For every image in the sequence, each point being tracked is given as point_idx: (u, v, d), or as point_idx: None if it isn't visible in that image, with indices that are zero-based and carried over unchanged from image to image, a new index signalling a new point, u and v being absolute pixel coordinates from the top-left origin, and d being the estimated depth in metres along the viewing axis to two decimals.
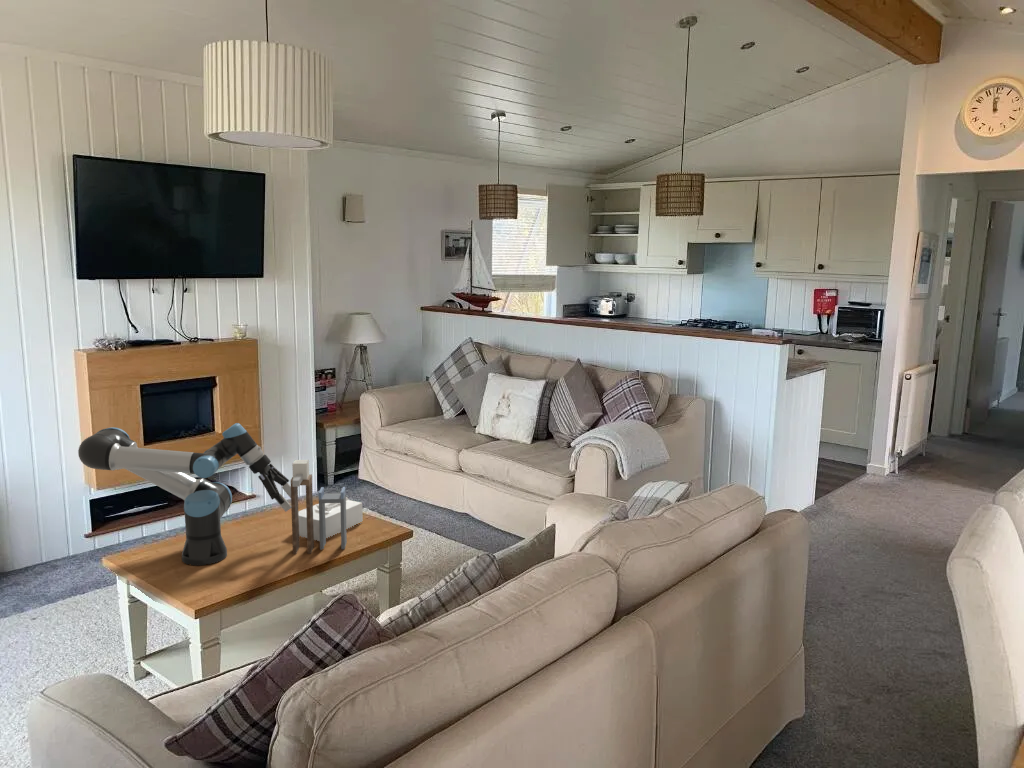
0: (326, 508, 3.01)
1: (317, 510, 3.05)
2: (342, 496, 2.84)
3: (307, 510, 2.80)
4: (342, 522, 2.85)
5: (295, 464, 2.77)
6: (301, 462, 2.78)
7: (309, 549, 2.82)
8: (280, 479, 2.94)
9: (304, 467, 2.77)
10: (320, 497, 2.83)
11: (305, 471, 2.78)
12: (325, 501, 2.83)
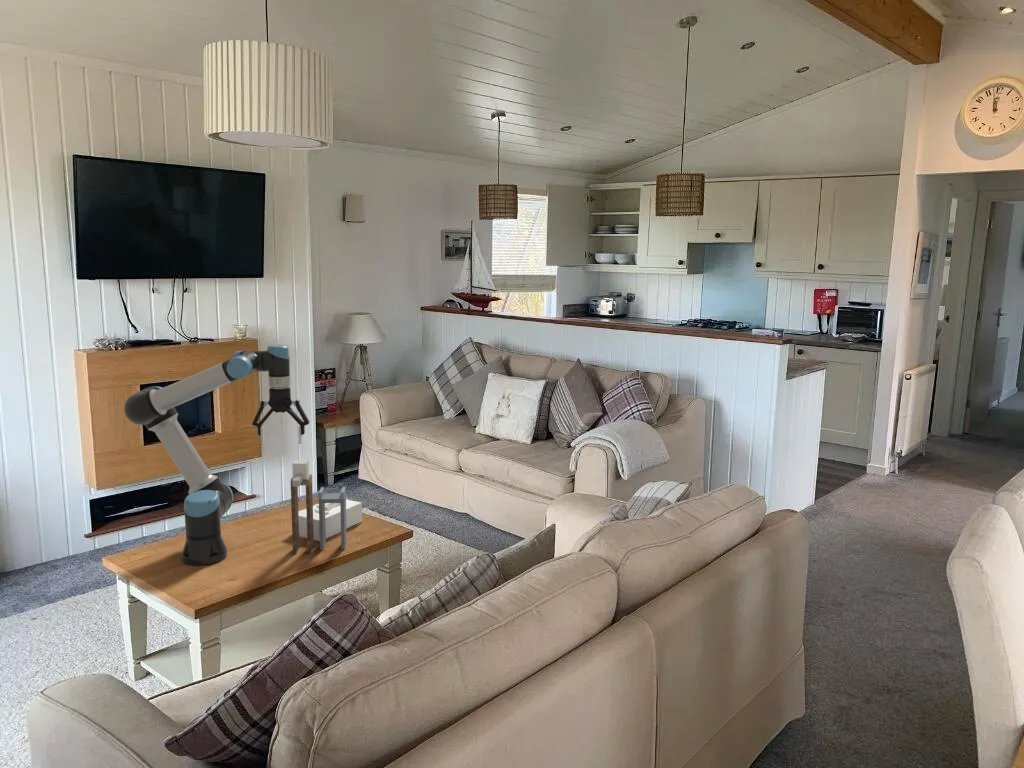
0: (326, 508, 3.01)
1: (317, 510, 3.05)
2: (342, 496, 2.84)
3: (307, 510, 2.80)
4: (342, 522, 2.85)
5: (295, 464, 2.77)
6: (301, 462, 2.78)
7: (309, 549, 2.82)
8: None
9: (304, 467, 2.77)
10: (320, 497, 2.83)
11: (305, 471, 2.78)
12: (325, 501, 2.83)
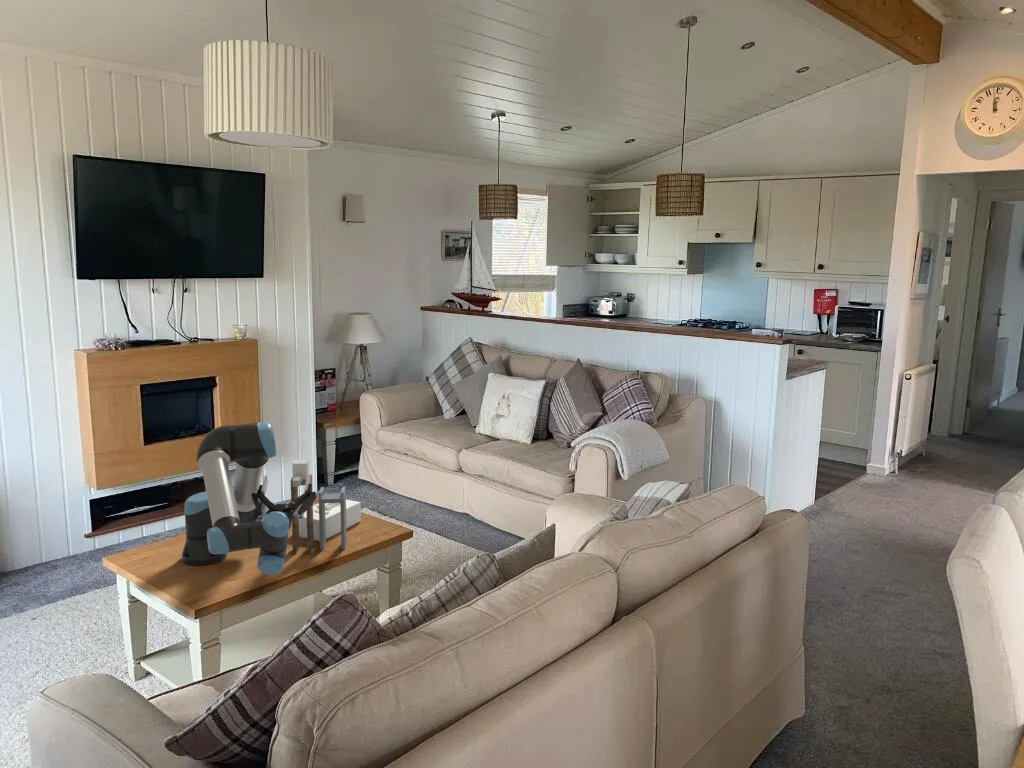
0: (326, 508, 3.01)
1: (317, 510, 3.04)
2: (342, 496, 2.84)
3: (307, 510, 2.80)
4: (342, 522, 2.85)
5: (295, 464, 2.77)
6: (301, 462, 2.78)
7: (309, 549, 2.82)
8: None
9: (304, 467, 2.77)
10: (320, 497, 2.83)
11: (305, 471, 2.78)
12: (325, 501, 2.83)
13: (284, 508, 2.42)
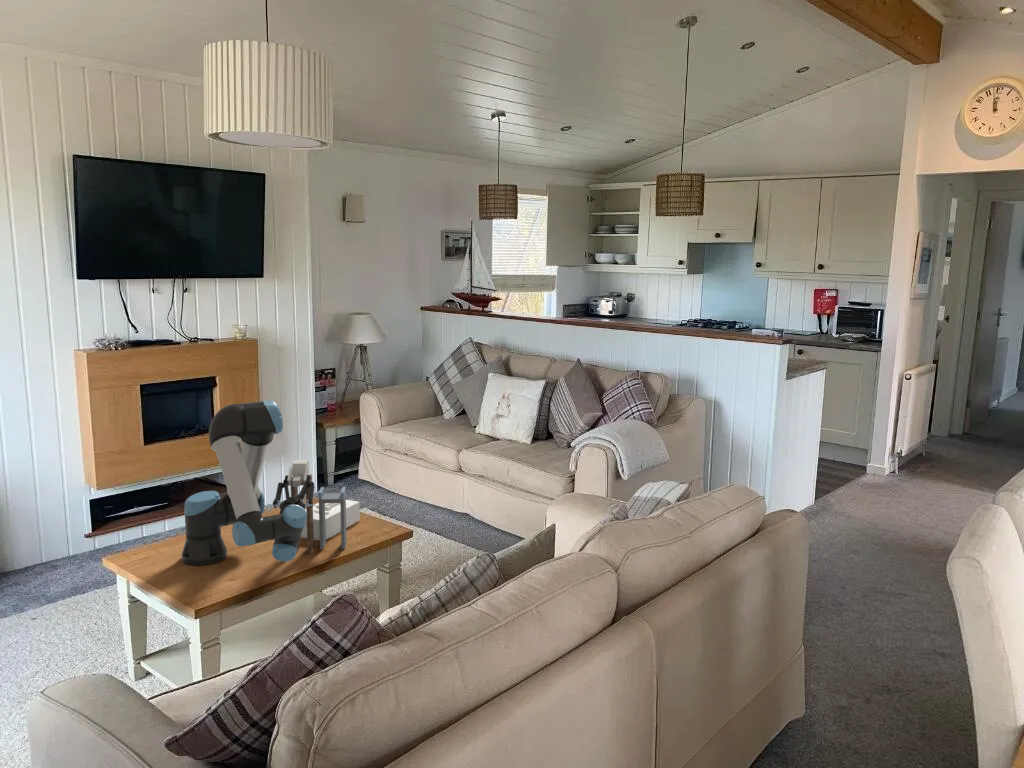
0: (326, 508, 3.02)
1: (316, 510, 3.04)
2: (342, 496, 2.84)
3: (307, 510, 2.80)
4: (342, 522, 2.85)
5: (295, 464, 2.77)
6: (301, 462, 2.78)
7: (309, 549, 2.82)
8: None
9: (304, 467, 2.77)
10: (320, 497, 2.83)
11: None
12: (325, 501, 2.83)
13: (296, 501, 2.63)
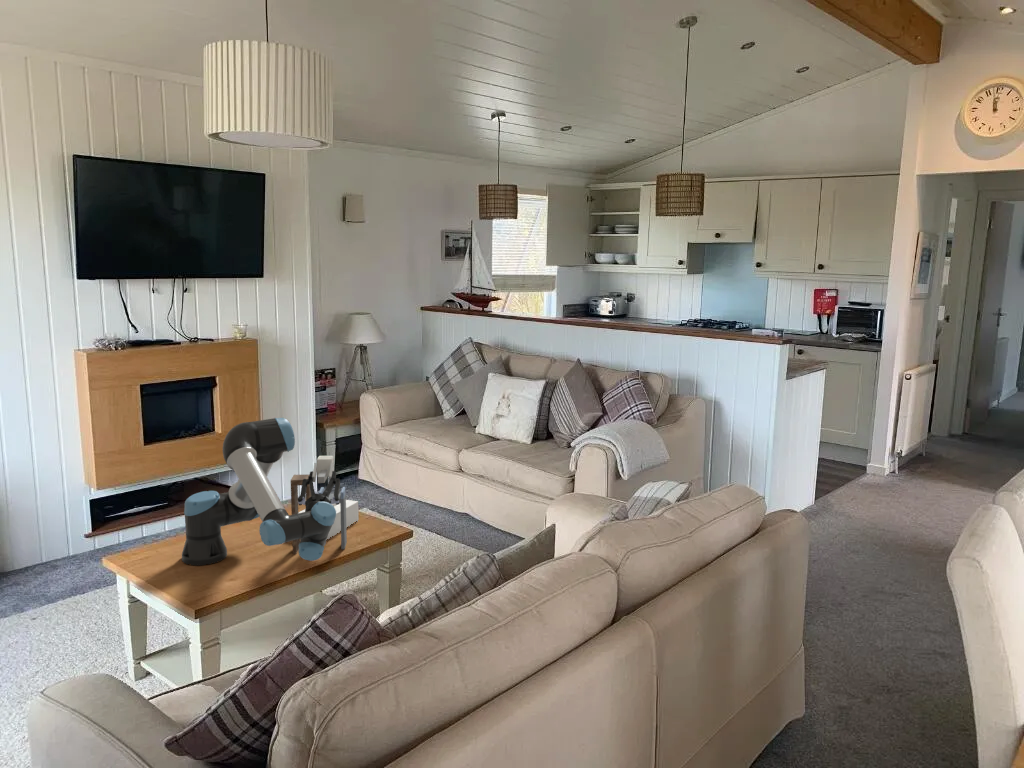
0: None
1: None
2: (342, 496, 2.84)
3: None
4: (342, 522, 2.85)
5: (320, 460, 2.67)
6: (326, 458, 2.69)
7: None
8: None
9: (329, 463, 2.68)
10: None
11: None
12: None
13: (322, 498, 2.53)
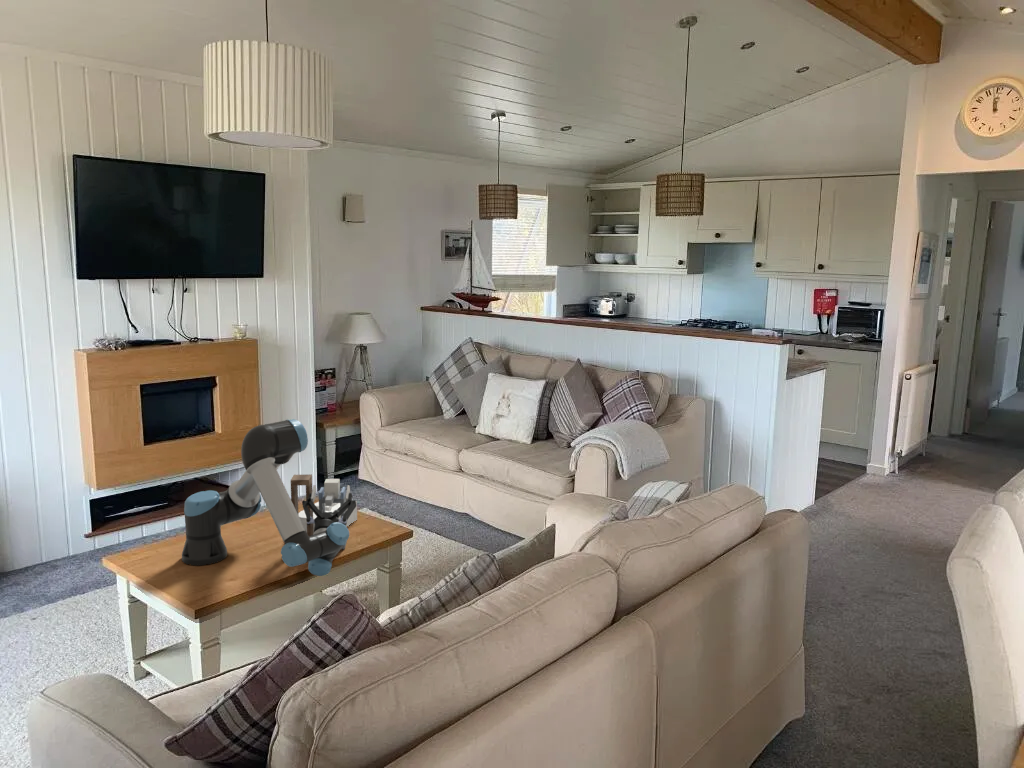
0: (327, 508, 3.02)
1: None
2: (342, 496, 2.84)
3: None
4: None
5: (327, 483, 2.83)
6: (332, 481, 2.85)
7: None
8: None
9: (335, 486, 2.84)
10: (320, 497, 2.83)
11: (336, 490, 2.84)
12: None
13: (330, 516, 2.69)
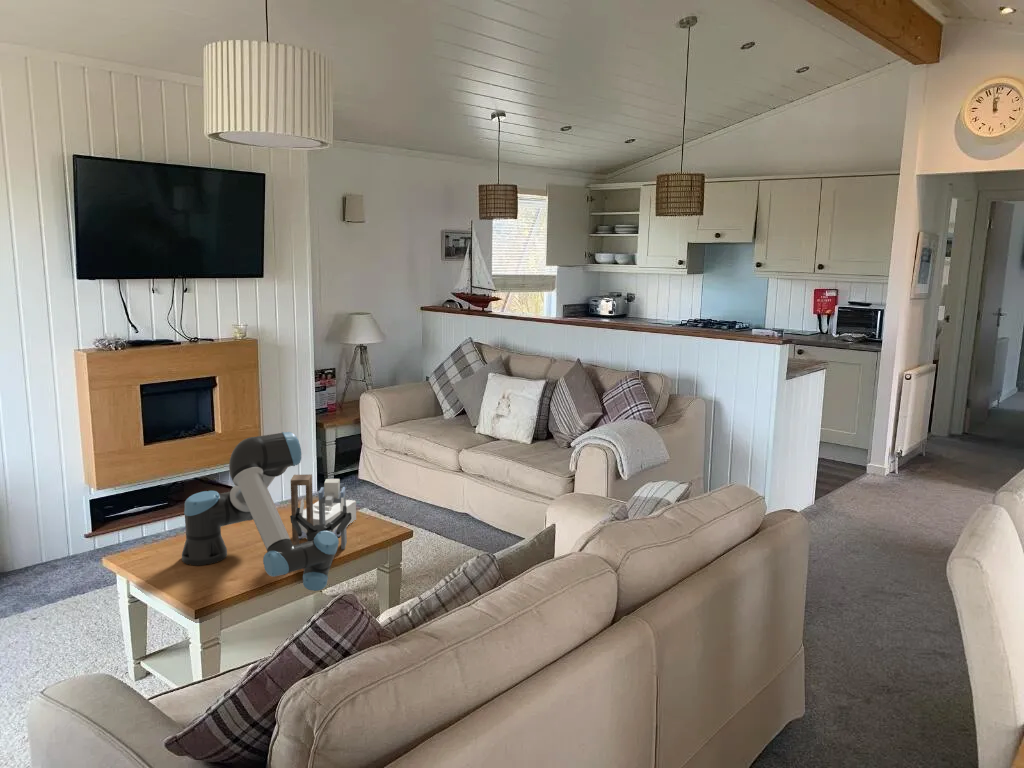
0: (327, 508, 3.02)
1: (316, 511, 3.04)
2: (342, 496, 2.84)
3: (307, 510, 2.80)
4: None
5: (327, 483, 2.83)
6: (332, 481, 2.85)
7: None
8: None
9: (335, 486, 2.84)
10: (320, 497, 2.83)
11: (336, 490, 2.84)
12: None
13: (323, 528, 2.55)
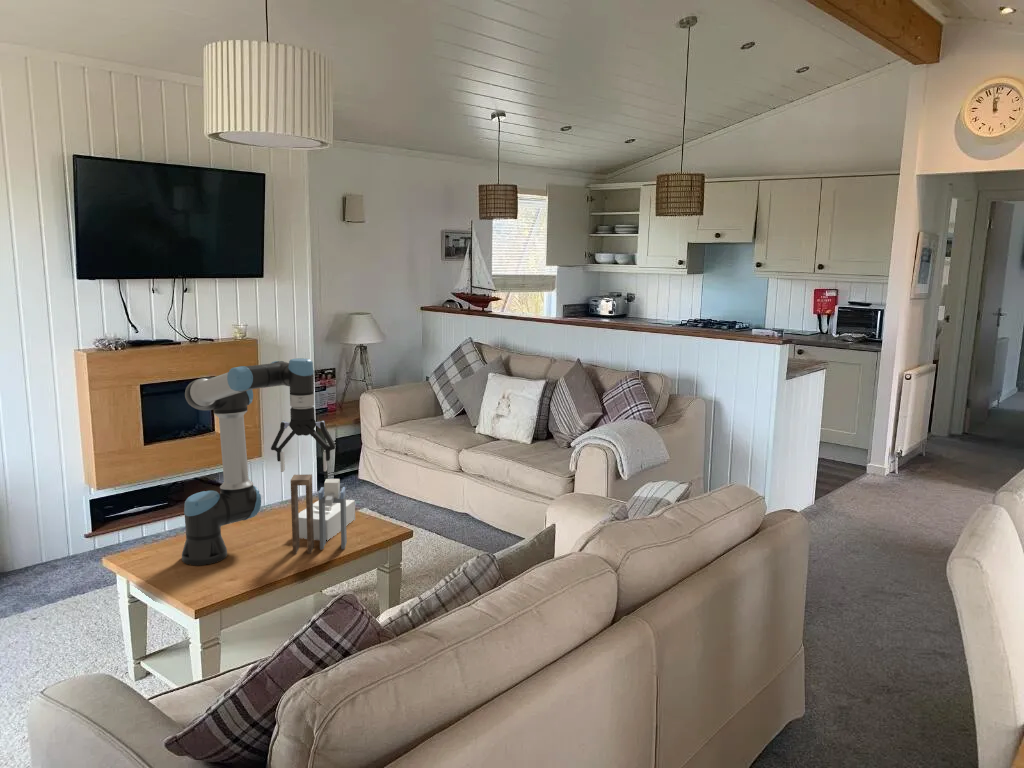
0: (327, 508, 3.02)
1: (316, 511, 3.04)
2: (342, 496, 2.84)
3: (307, 510, 2.80)
4: (342, 522, 2.85)
5: (327, 483, 2.83)
6: (332, 481, 2.85)
7: (309, 549, 2.82)
8: None
9: (335, 486, 2.84)
10: (320, 497, 2.83)
11: (336, 490, 2.84)
12: None
13: None
